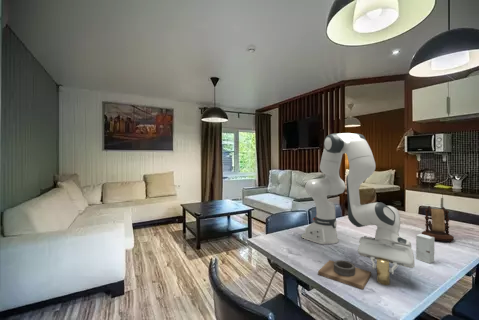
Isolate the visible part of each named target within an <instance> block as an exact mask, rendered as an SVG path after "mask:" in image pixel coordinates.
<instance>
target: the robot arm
mask: <svg viewBox="0 0 479 320" xmlns="http://www.w3.org/2000/svg"><path fill="white" fill-rule="evenodd" d="M323 147H324V149H323V150H322V151H323V152H322V155H321V158H320V159H321V160H320V163H319V164H320V165H319V170H320V172H321V173H322V174H324V175H325V177H324V178H313V179H308V180H307V181H306V183H305V185H304V189H305V193H306V194H308V196H310V197H311V198H312V200H313V201H314V203H315V207H316V208H315V210H316V215H315V216H314V217H313V219H312V221H313V222H312V223H310V224H309V225H307V226H306V227H305V231H304V233H302V234H301V239H303V238H304V239H303V240H307V241H311V242H313V243H316V244H319V245H327V244H328V245H329V244H330V245H332V244H338V243H339V242H340V239H339V237H338V232H337V218H336V206H335V204H334V203H333V202H331V201H329V199H328V197H329V196H338V195H340V194H343V193H344V192H345V190H346V193H347V194H346V195H347V196H346V197H347V218H348V220H349V222H350V223H351V224H352V225H353V226H354V227H356V228H362V227H368V226H376V227H377V228H376V230H375V235H374V237H372V236H367V235H364V236H361V237H360V238H359V245H358V247H357V252H358V254H359V256H361V257H364V258H369V259H370V260H371V263H372V270H376V271H377V263H375V262H376V261H377V258H382V259H386V260H388V261H389V264H392V267H390V266H389V273H390V274H391V275H394V273H395V271H396V270H397V269H398V267H399V266H401V267H404V268H405V267H406V268H409V269H413V268H415V266H416V263H415V256H414V255H415V254H414V250H413V249H412V243H411V241H410V240H409V239H407V238H404V237H401V236H400V234H399V232H400V229H401V215H400V212H399V210H398V209H397V208H396V207H394V206H392V205H386V204H385V203H383V202H381V201H380V202H378V201H377V202H370V203H366V204H361V198H360V187H361V186H362V184H363V183H364V182H365V181H366V180H367V179H369V178H370V177H372V175H373V174H374V172H375V170H376V161H375V158H374V155H373V152H372V149H371V147H370V145H369V143H368V141H367V140H366V137H365V136H364V135H363V134H361V133H358V132H357V133H356V132H355V133H351V132H342V133H341V132H339V133H330V134H328V135H327V136H326V137H325V138H324V140H323ZM344 154H346V156H347V161H348V165H349V169H348V170H349V171H348V174H347V175H346V177H345V178H346V179H345V181H346V182H345V181H344V180H343V179H342V178H341V177H340V168H341V164H342V158H343V155H344Z"/></svg>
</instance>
